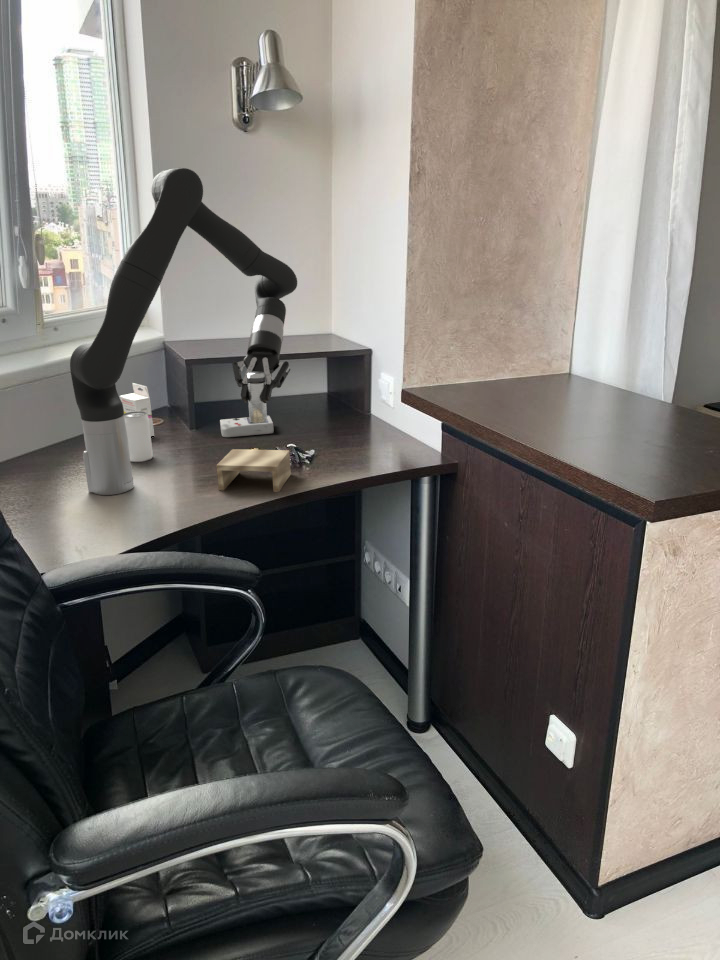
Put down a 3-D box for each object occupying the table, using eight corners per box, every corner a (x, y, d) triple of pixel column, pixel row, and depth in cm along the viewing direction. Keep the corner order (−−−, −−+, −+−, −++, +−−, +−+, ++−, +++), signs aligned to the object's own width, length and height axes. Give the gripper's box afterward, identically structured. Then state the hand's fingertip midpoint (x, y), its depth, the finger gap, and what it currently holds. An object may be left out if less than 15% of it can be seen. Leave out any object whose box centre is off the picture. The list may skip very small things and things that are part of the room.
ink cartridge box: (123, 435, 216) (117, 385, 211) (139, 431, 220) (132, 382, 215) (140, 441, 211) (133, 389, 206) (155, 437, 214) (149, 386, 209)
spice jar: (247, 422, 172) (244, 374, 168) (252, 417, 175) (249, 371, 172) (264, 422, 171) (262, 374, 168) (269, 418, 175) (267, 371, 171)
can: (122, 459, 195) (116, 414, 191) (144, 453, 199) (138, 409, 195) (136, 464, 191) (130, 418, 187) (158, 458, 195) (152, 413, 191)
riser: (218, 490, 172) (216, 465, 170) (234, 472, 183) (232, 449, 181) (278, 491, 170) (276, 466, 168) (290, 474, 181) (289, 450, 179)
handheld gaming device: (220, 431, 219) (219, 418, 218) (270, 426, 222) (269, 414, 221) (222, 440, 211) (221, 427, 210) (274, 435, 214) (273, 422, 213)
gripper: (232, 328, 175) (219, 391, 167) (292, 329, 173) (282, 392, 165) (240, 347, 181) (228, 409, 174) (298, 348, 180) (288, 410, 172)
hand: (254, 400), depth 170 cm, fingers closed on spice jar, 4 cm apart
